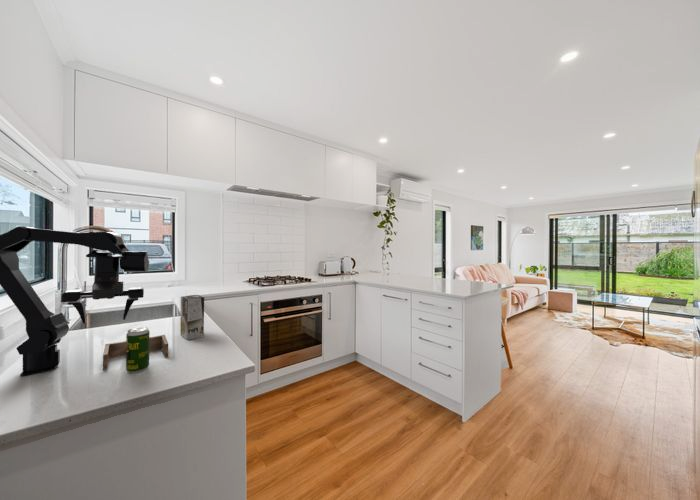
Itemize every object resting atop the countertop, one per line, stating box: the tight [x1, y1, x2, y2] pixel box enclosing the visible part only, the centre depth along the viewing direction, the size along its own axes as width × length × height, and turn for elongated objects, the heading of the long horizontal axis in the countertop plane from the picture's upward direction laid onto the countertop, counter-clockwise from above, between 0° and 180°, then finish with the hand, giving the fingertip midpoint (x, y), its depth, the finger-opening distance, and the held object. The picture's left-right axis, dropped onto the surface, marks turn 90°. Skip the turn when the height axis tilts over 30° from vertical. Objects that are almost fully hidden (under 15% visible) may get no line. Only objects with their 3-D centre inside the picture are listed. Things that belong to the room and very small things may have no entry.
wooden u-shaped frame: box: [102, 334, 169, 371], centre depth 88 cm, size 16×11×4 cm
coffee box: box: [180, 294, 205, 341], centre depth 110 cm, size 9×6×16 cm
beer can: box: [125, 326, 151, 375], centre depth 79 cm, size 5×5×12 cm
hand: (105, 321), depth 84 cm, fingers open, 9 cm apart
